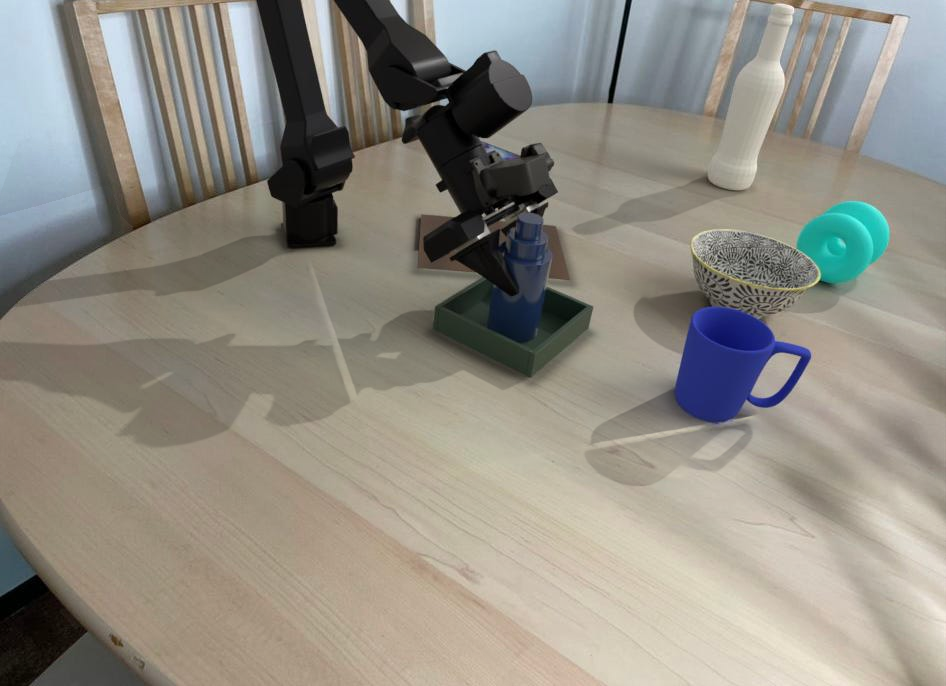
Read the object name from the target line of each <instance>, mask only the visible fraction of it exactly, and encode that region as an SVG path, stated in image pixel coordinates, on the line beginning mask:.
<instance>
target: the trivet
mask: <svg viewBox="0 0 946 686" xmlns="http://www.w3.org/2000/svg"><path fill="white" fill-rule="evenodd" d="M454 217H455V216H445V215H435V214H434V215H433V214H422V213H421V214H420V225H419V226H420V227H419V240H418V242H419V243H418V245H419V246H418V257H417V268H418V269H428V270H441V271H454V272H463V273H476V272H475V271H473V270H471V269H470V268H468V267H466V266H465V265H463V264H461V263H460V262H458V261H456V260H454V261H452V262H451V261H450V259H449V258H450V257H451V256H453V255H455V254H456V251H455V249H454V250H453V251H451V252H450V253H449V254H448V255H446V256H444V257H442V258H440V259H439V260H437V261H435V262H433V263H431V262H430V260H429V258H428V257H427V255H426V253H425V251H424V250H423V237H424V236H426V235H427V234H429V233H430V232H432V231H433V230H435V229H436V228H438V227H439V226H441V225H442V224H444V223H445V222H447V221H449V220H450V219H452V218H454ZM506 226H507V223H506V221H505V220H504V221H503V220H500V221H498V222H496V223H494V224H492V225H491V226H489V227H488V228H489V230H490V232H491V233H492V232H494V231H496V230H498V229H500V237H499V245H500V244H501V243H502V242H504V241H506V239H507V237H506V236H505V235H504V234H503V233H502V231H501V229H502V228H504V227H506ZM542 231H543V232H544V233H545V234H546V235H547V236H548V242H547V248H548V249H549V250H550V251H551V253H552V261H551V267H550V272H549V277H548V279H554V280H563V281H566V280H567V281H571V277H570V274H569V270H568V266H567V263H566V262H567V261H566V258H565V255H564V251H563V247H562V244H561V241H560V237H559V232H558V229H557V226H556V225H551V224H543V227H542Z"/></svg>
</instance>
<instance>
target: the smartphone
mask: <svg viewBox="0 0 946 686" xmlns="http://www.w3.org/2000/svg"><path fill="white" fill-rule="evenodd" d="M480 141H481V142H482V144H483V146H484V148H485V150H486V151H487V153H488V152H491V151H493V150H495V151H496V152H498V153H499V154H500V155H501V157H502V159H503V160H504V161H506V160H511V159H514V158H517V157H520V155H521V154H517V153H514V152H512V151H509V150H507V149H504V148H502V147H500V146H496V145H493V144H491V143H487V142H485V141H482V140H480Z"/></svg>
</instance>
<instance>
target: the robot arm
mask: <svg viewBox="0 0 946 686" xmlns="http://www.w3.org/2000/svg"><path fill="white" fill-rule="evenodd" d="M255 2H256V5H257V10H258V13H259V14H258V15H259V17H260V21H261V26H262V30H263V33H264V34H263V35H264V37H265V41H266V46H267V50H268V53H269V57H270V61H271V66H272V69H273V73H274V77H275V82H276V85H277V89H278V94H279V97H280V101H281V106H282V109H283V114H284V117H285V126H284V129H283V134H282V138H281V141H280V145H279V149H280V156H281V163H282V166H280V168H278V170H277V171H276V172H274V173H273V174H272V175H271V176H270V177H269V178H268V179H267V181H266V184H267V187H268V190H269V194H270V197H271V198H273V199H275V200H276V201H277V200H278V201H279V202H281V205H282V206H281V207H282V222H281V223H280V228H281V232H282V235H283V238H284V241H285V244H286V247H287V248H290V249H292V248H308V247H322V246H335V245H337V238H336V235H338V233H339V231H338V230H339V227H338V226H339V221H338V220H339V207H338V205H337V203H336V200H335V199H334V195H333V194H334V193H337V192H341V191H343V190H344V188H345V185H346V182H347V180H348V179H349V177H350V175H351V173H353V167H354V165H353V159H355V158H356V155H355V154H354V152H353V149H352V146H351V142H350V133H349V130H348V128H347V126H345V125H342V126H338V125H337V124H336V123H335V121H333V120H332V118H331V117H330V116H329V115H328V113H327V110H326V105H325V101H324V97H323V93H322V88H321V83H320V80H319V75H318V71H317V66H316V62H315V57H314V53H313V48H312V45H311V40H310V36H309V32H308V26H307V22H306V18H305V13H304V9H303V5H302V0H255ZM333 2H334V4H335V5H336V6H337V8H338V9H339V11H340V12H341V14H342V15H343V16H344V18H345V20H346V21H347V22H348V24H349V26H351V29H352V30H353V32H354V33H355V34H356V36H357V37H358V39H359V40H360V41H361V43H362V45H363V47H364V49H365V51H366V58H367V69H368V72H369V74H370V77H371V78H372V81H373V82H374V85H375V86H376V88H377V90H378V92H379V95H380V97H381V98H382V100H383V102H385V103H386V105H387V106H388V107H390V109H392V110H394V111H395V110H396V111H402V112H406V111H411V110H415V109H418V108H420V107H421V108H422V107H424V106H428V105H431V104H433V103H437V102H440V101H443V100H447V101H448V102H447V104H446V105H444V104H436V105H432V106H430V107H429V108H428V109H427V110H426V111H425V112H424V113H422V114H414V115H411V116H409V117H408V116H407V117H405V119H404V122H405V123H404V129H403V132H402V136H401V143H402V145H403V144H404V145H407V144H410V143H413V142H416V141H418V140H419V142H420V144H421V145H422V147H423V149H424V151H425V153H426V154H427V156H428V158H429V160H430V161H431V163H432V165H433V167H434V169H435V170H436V172H437V174H438V175H439V178H440V179H441V180H440V181H439V182H437V183H436V184H435V187H436V189H437V190H438V192H439V193H440V194H441V193H443V192H445V191H448V193H449V195H450V198H451V199H452V200H453V202H454V204H455V206H456V208H457V209H458V211H459V214H458V215H456V216H453V217H454V218H452V219H450V220H449V221H447V222H445V223H444V224H442V225H441V226H439V227H438V228H436V229H435V230H433V231H432V232H430V233H429V234H427V235H426V236H424V237H423V250H424V251H425V253H426V255H427V257H428V258H429V260H430V262H431V263H433V262H435V261H437V260H439V259H440V258H442V257H444V256H446V255H448V254H449V253H450V252H451V251H453V250H454V249H455V251H456V254H455V255H453V256H451V257H450V258H449V259H450V261H451V262H452V261H454V260H456V261H458V262H460V263H461V264H463V265H465V266H466V267H468V268H470V269H471V270H473V271H475V272H474V273H477V274H478V275H479V276H481V278H482V277H484V278H485V279H487V280H488V281H490V282H491V283H492V284H494V285H495V286H497V287H498V288H500V289H501V290H502V291H504V292H505V293H507V294H508V295H509V296H511V297H512V296H515V295H517V294H518V293H519V290H518V287H517V284H516V282H515V279H514V277H513V275H512V273H511V271H510V269H509V267H508V265H507V263H506V261H505V259H504V257H503V255H502V253H501V251H500V249H499V237H500V229H498V230H496V231H494V232H492V233H491V232H490V230H489V228H488V227H489V226H491V225H492V224H494V223H496V222H498V221H503V220H504V221H505V222H506V223H507V226H506V227H504V228H502V229H501V231H502V233H503V234H504V235H505V236H506V237H507V232H508V231H509V230H510V229H511V228H513V227H516V223H517V216H518V215H519V214H521V213H534V214H537V215H540V216H541V217H542V218H543V217H544V214H545V212H546V209H547V208H549V201H547V200H548V199H550V198H551V197H553V196H555V195H557V194H558V193H559V190H558V188H557V187H556V185H555V183H554V182H553V180H552V178H551V177H550V173H549V172H551V170H552V169H553V167H554V166H555V160H554V159H552V158H551V155H550V153H549V152H548V150H547V149H546V148H545V147H546V146H544V144H543V143H542V142H535V143H530V144H528V145H526V146H523V147H522V148H521V151H520V154H519V155H520V157H517V158H514V159H511V160H506V161H504V160H503V159H502V157H501V155H500V154H499V153H498V152H496V151H495V150H493V151H491V152H488V153H487V151H486V150H485V148H484V146H483V144H482V142H481V141H482V140H481V139H489V138H491V137H493V136H494V135H495V134H496V133H498V132H499V131H501V130H502V129H503V128H505V127H506V126H507V125H509V124H510V123H511V122H513V121H515V120H516V119H517V118H518V117H520V116H522V115H523V114H524V113H525V112H527V111H528V110H529V109H530V108H531V106H532V104H533V93H532V90H531V86H530V84H529V82H528V79H527V77H526V76H525V75H524V74H522V73H521V72H520V71H519V70H518V69H517V68H516V67H515V66H514V65H512V64H511V63H510V62H508V61H505V60H504V59H502V57H501V55H500V54H499V52H498V51H497V50H495V49H494V50H490V51H485V52H483V53H482V54H481V55H480V56H478V57H477V58H476V59H475V61H474V62H473V64H472V65H471V66H470V67H469V68H468V69H467V70H465V69H463V68H462V67H459V66H457V65H456V64H453V63H451V62H450V61H449V60H448V58H447V56H446V55H445V54H444V53H443V52H442V51H441V49H440V48H439V47H437V45H436V43H434V42H433V41H432V40H431V39H430V38H429V37H428V35H426V34H425V33H423V32H422V31H420V30H419V29H417V28H415V27H413V26H412V25H410V24H409V23H407V21H405V20H404V19H403V18H402V16H401V15H400V14H399V12H398V11H397V9H396V8H395V6H394V5H393V3H392V2H391V1H390V0H333ZM545 201H547V202H545ZM543 202H544V204H541V203H543ZM540 204H541V205H540ZM483 215H485V216H483ZM543 219H544V218H543Z"/></svg>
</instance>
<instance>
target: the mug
mask: <svg viewBox="0 0 946 686" xmlns="http://www.w3.org/2000/svg"><path fill="white" fill-rule="evenodd" d="M683 346H684V347H683V351H682V355H681V359H680V363H679V368H678V372H677V376H676V381H675V387H674V396H675V400H676V403H677V405H679V407H680V408H681V409H682V410H683V411H684V412H686V413H687V414H689V415H690V416H691V417H694V418H696V419H699V420H701V421H704V422H709V423H713V424H714V423H715V424H718V423H719V424H720V423H726V422H728V421H731V420H732V419H734V418H735V417H736V416H737V415H738V414H739V413H740V411H741V410H742V408H743V406H744V404H745V403H746V401H747V402H748V403H749V404H751V406H752V405H753V406H754V407H757V408H762V409H769V408H773V407H776V406H777V405H779V404H780V403H782V402H783V401H784V400H785V399H786V398H787V397H788V396H789V394H791V392H792V390H793V389H794V388H795V387H796V386H797V384H798V382H799V380H800V379H801V378H802V376H803V374H804V372H805V370H806V368H807V367H808V365H809V363H810V361H811V359H812V352H811V350H810V349H809V348H807V347H804V346H802V345H798V344H793V343H790V342H785V341H778V340H776V336H775V335H774V333H773V331H772V330H771V328H770V327H769V326H768V325H767V324H766V323H764V322H763V321H762V320H761V319H757V318H756V317H754V316H752V315H750V314H747V313H745V312H742V311H739V310H736V309H731V308H726V307H712V306H707V307H703V308H700V309H698V310H696V311H694V312H693V314H692V315H691V317H690V321H689V324H688V329H687V334H686V338H685V342H684V345H683ZM777 354H789V355H793V356H796V357H800V358H799V360H798V362H797V363H796V365H795V368H794V369H793V370H792V373H791V375H790V376H789V377H788V379H787V381H786V382H785V383H784V384H783V386H782V387H781V388H780V389H779V390H778V391H777V392H776V393H774V394H773V395H770V396H768V397H756V396H755V395H753V394H752V392H753V389H754V387H755V385H756V383H757V381H758V379H759V378H760V376H761V374H762V372H763V370H764V368H765V367H766V365H767V363H769V361H770V359H771V358H772V357H773V356H775V355H777Z"/></svg>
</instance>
